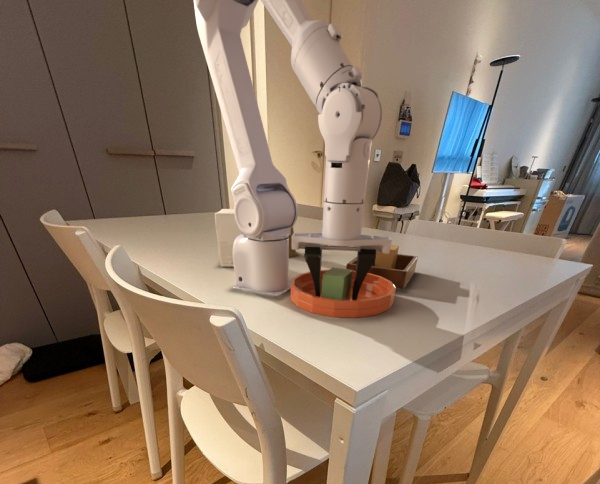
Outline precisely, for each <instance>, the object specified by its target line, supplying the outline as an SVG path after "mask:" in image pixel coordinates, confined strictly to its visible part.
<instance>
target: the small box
mask: <svg viewBox="0 0 600 484" xmlns="http://www.w3.org/2000/svg"><path fill="white" fill-rule="evenodd" d="M214 222H215V223H214V224H215V232H216V240H217V248H218V249H217V250H218V256H219V264H220V267H230V268H231V267H232V268H234V263H233V245H234V242H235V239H236V238H237V237H238V236H239V235H242V234H243V233H242V232H241V230H240V229H239V227H238V225H237V223H236V220H235V214H234V208H221V210H219V211H217V212H215V213H214Z"/></svg>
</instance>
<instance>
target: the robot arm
mask: <svg viewBox="0 0 600 484" xmlns="http://www.w3.org/2000/svg"><path fill="white" fill-rule="evenodd" d="M258 2H259V0H193V6H194V7H193V8H194V15H195V22H196V28H197V33H198V37H199V40H200V45H201V47H202V51H203V54H204V57H205V62H206V64H207V67H208V70H209V74H210V78H211V82H212V85H213V88H214V92H215V94H216V95H215V96H216V98H217V102H218V105H219V109H220V112H221V115H222V119H223V122H224V126H225V129H226V133H227V136H228V140H229V143H230V146H231V150H232V153H233V157H234V161H235V164H236V167H237V170H238V176H237V178H236V179H235V180H234V181H235V182H233V185H232V186H231V188H230V192H231V196H232V199H233V205H234V206H233V209H234V214H235V220H236V223H237V225H238V227H239V229H240V230H241V232H242V233H243V234H242V235H239V236H238V237H237V238H236V239H235V242H234V245H233V263H234V267H233V275H234V283H235V286H233V289H234V290H235V289H236V290H240V291H246V292H252V293H258V294H262V295H263V294H264V295H268V296H274V297H280V296H282V295H283V294H285V293H286V292H288V291H289V290H291V281H290V257H289V235H291V228H292V227H293V228H294V226H295V224H296V222H297V220H298V216H299V209H298V208H299V207H298V203H297V200H296V198H295V196H294V194H293V193H292V191H291V190H290V188H289V184H288V182H287V178H286V177H285V175H284V174H283V173H282V172H281V171H280V170H279V169H278V168H277V167H276V166H275V165H274V162H273V159H272V156H271V151H270V147H269V144H268V139H267V136H266V131H265V128H264V124H263V120H262V116H261V113H260V112H261V111H260V108H259V105H258V100H257V97H256V92H255V89H254V84H253V81H252V76H251V73H250V69H249V64H248V62H247V57H246V53H245V49H244V46H243V42H242V38H241V33H242V29H244V28H246V27H247V25H248V23H249V21H250V19H251V17H252V15H253V13H254V11H255V9H256V7H257V4H258ZM260 2H261V3H262V4H263V6H264V7H265V9H266V10H267V12H268V13H269V15H270V16H271V18H272V19H273V21H274V22H275V24H276V25H277V26H278V29H279V30H280V32H281V33H282V34H283V36H284V37H285V39H286V40H287V42H288V44H289V45H290V46H291V53H290V64H291V68H292V70H293V72H294V73H295V75H296V77H297V79H298V81H299V82H300V84H301V85H302V87H303V90H305V92H306V94H307V95H308V97H309V99H310V101H311V102H312V104H313V105H314V108H315V109H316V110H317V112H318V115H317V122H318V128H319V132H320V134H321V136H322V139H323V142H324V156H325V170H324V172H325V173H324V189H323V190H324V191H323V208H322V209H323V210H322V224H321V225H322V226H321V227H322V229H321V232H311V233H309V232H308V233H307V232H306V233H303V232H302V233H300V232H299V233H298V232H297V233H295V232H294V233H293V235H292V250H296V251H298V250H304V253H303V257H304V260H305V263H306V265H307V267H308V269H309V272H310V273H311V276H312V279H313V283H314V287H315V295H316V296H317V297H320V295H321V270H322V260H323V259H322V256H323V251H344V252H357V254H356V255H357V256H356V257H357V264H356V274H355V280H354V285H353V291H352V300H357V297H358V293H359V290H360V288H361V285H362V283H363V281H364V279H365V277H366V275H367V273H368V271H369V270H370V268H371V267H372V265H373V264H374V262H375V259H376V255H375V254H376V252H382V253H385V254H389V253H390V247H391V245H392V238H391V237H390V236H377V235H369V234H362V229H363V221H364V212H365V211H364V210H365V203H366V194H367V186H368V185H367V184H368V177H369V169H370V158H371V149H372V141H373V140H374V139H375V138H376V137H377V135H378V133H379V131H380V129H381V126H382V121H383V107H382V103H381V100H380V98H379V93H378V92H377V91H376V90H375V89H374V88H372V87H368V86H362V78H363V76H364V74H363V72H362V70H361V68H360V67H358V66H356V65H355V66H354V65H353V63H352V61H351V60H350V58H349V57H348V55H347V53H346V51H345V50H344V48H343V46H342V44H341V40H342V38H343V34H342V32H341V30H340V29H339V27H338V26H337V25H335V24H334V23H332V22H331V23H329V22H328V21H326V20H324V19H315V20H314V19H313V17H312V16H311V12H310V10H309V9H308V8H307V6H306V4H305V2H304V0H260Z"/></svg>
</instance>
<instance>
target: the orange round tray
mask: <svg viewBox="0 0 600 484" xmlns="http://www.w3.org/2000/svg"><path fill="white" fill-rule="evenodd" d="M330 269H331V268H329V269H321V295H320V297H317V296H316V295H315V287H314V283H313V279H312V276H311V273H310V271H306V272H304V273H303V272H302V273H300V274H298V275H296V276H294V277H293V278H291V281H290V282H291V289H290V301H291V302H292V303H293V304H294V305H295V306H296V307H297V308H299V309H301V310H304V311H307V312H309V313H312V314H316V315H320V316H321V315H322V316H327V317H332V318H355V319H357V318H365V317H371V316H377V315H379V314H382V313H384V312H386V311H389V310H390V309H391V307H392V305H393V304H394V301H395V295H396V291H397V288H395V286H394V284H393V283H392V282H391V281H389V280H387V279H385V278H383V277H381V276H378V275H374V274H370V273H367V275H366V277H365V279H364V281H363V283H362V285H361V288H360V290H359V293H358V297H357V300H352V291H353V285H354V280H355V274H356V271H353V276H352V285H351V294H350V300H335V299H329V298H323V297H322V279H323V274H324V273H325V272H327V271H328V270H330Z"/></svg>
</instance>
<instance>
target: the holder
mask: <svg viewBox="0 0 600 484" xmlns="http://www.w3.org/2000/svg"><path fill="white" fill-rule="evenodd" d="M376 253H377V252H376ZM375 255H376V254H375ZM418 258H419V256H418V255H409V254H402V253H398V255H397V260H396V266H395V269H389V268H382V267H375V262H374V264H373V265H372V267H371V268H370V270H369V271H368V273H370V274H374V275H378V276H381V277H383V278H385V279H387V280H389V281H391V282H392V283H393V284H394V286H395V288H396V289H398V290H399V289H400V290H404V289H405V287H406V286H407V285H408V283H409V281H410V280H411V278H412V277H413V275H414V274H415V272H416V267H417V263H418ZM375 260H376V259H375ZM356 264H357V256H355V257H354V258H353V259H351V260H350V261H349V262H347V263H346V268H345V269H348V270H353V271H356Z"/></svg>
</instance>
